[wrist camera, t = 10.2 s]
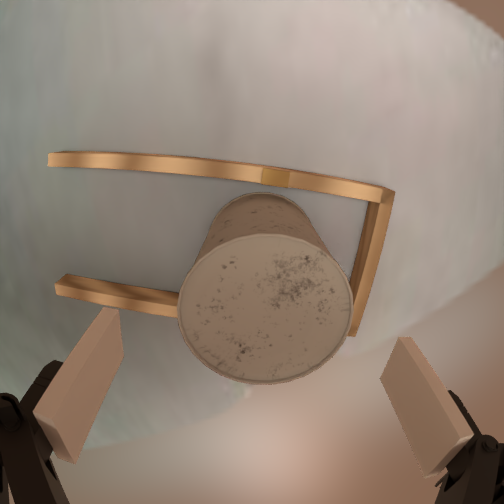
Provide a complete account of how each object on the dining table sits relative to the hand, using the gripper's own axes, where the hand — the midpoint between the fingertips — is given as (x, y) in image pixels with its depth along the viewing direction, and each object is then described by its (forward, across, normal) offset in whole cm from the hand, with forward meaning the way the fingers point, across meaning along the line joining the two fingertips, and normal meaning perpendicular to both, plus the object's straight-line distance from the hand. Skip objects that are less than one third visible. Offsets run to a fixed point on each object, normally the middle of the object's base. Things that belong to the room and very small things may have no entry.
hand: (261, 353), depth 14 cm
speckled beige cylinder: (+16, +1, 0) cm, 16 cm away
